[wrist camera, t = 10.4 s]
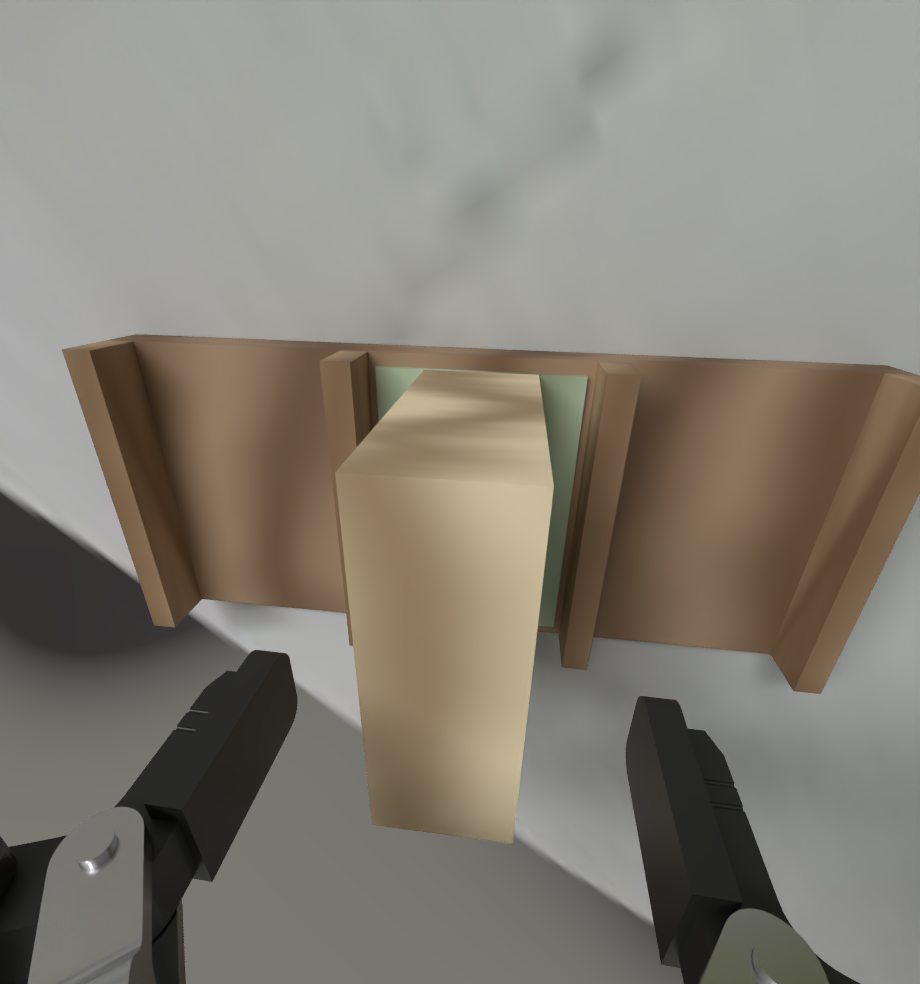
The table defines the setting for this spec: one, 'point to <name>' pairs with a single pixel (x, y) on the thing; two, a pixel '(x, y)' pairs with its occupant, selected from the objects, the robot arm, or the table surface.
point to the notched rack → (576, 477)
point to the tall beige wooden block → (447, 596)
